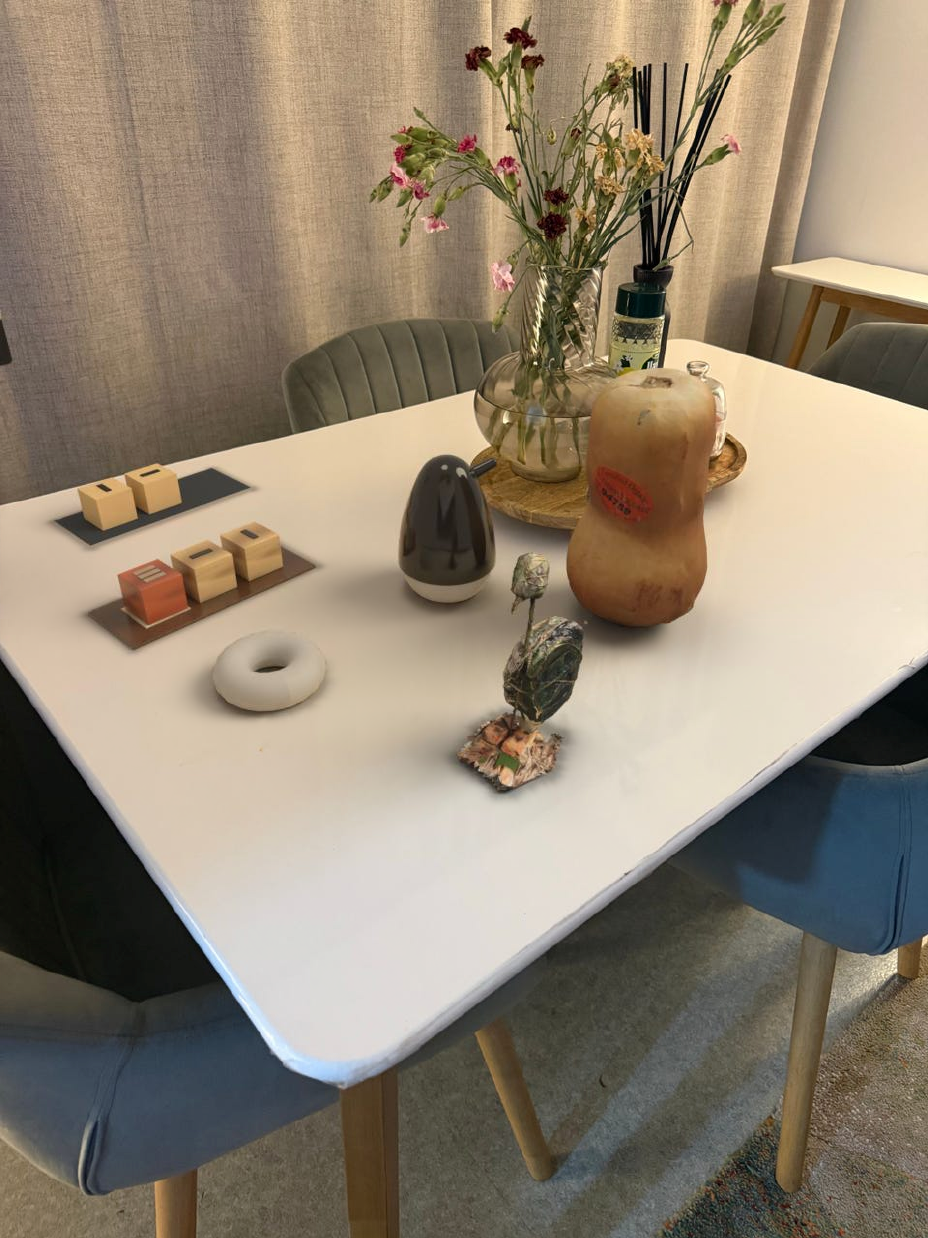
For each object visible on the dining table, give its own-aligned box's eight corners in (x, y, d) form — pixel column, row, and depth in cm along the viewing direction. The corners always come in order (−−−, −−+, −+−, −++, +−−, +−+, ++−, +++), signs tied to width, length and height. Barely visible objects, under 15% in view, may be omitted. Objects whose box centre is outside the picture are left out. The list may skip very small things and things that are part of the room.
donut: (279, 641, 86) (192, 687, 80) (276, 611, 85) (186, 655, 78) (349, 682, 81) (262, 735, 75) (348, 651, 79) (258, 702, 73)
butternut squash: (536, 622, 89) (551, 377, 76) (602, 570, 98) (627, 343, 85) (660, 672, 82) (702, 413, 69) (720, 611, 91) (767, 371, 78)
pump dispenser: (511, 605, 92) (517, 469, 84) (415, 623, 89) (412, 484, 81) (476, 559, 100) (478, 431, 92) (388, 575, 97) (381, 444, 89)
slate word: (55, 524, 106) (45, 488, 104) (212, 471, 120) (207, 438, 117) (91, 549, 101) (82, 512, 99) (251, 491, 115) (247, 457, 112)
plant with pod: (605, 749, 73) (632, 534, 62) (495, 805, 68) (504, 580, 57) (543, 699, 79) (558, 494, 68) (437, 747, 73) (434, 532, 63)
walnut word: (89, 616, 90) (78, 576, 87) (267, 542, 103) (262, 506, 101) (135, 652, 85) (125, 610, 82) (316, 569, 98) (312, 531, 95)
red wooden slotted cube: (125, 608, 90) (116, 573, 87) (164, 592, 92) (157, 557, 90) (148, 625, 87) (140, 589, 85) (188, 608, 90) (181, 572, 88)
